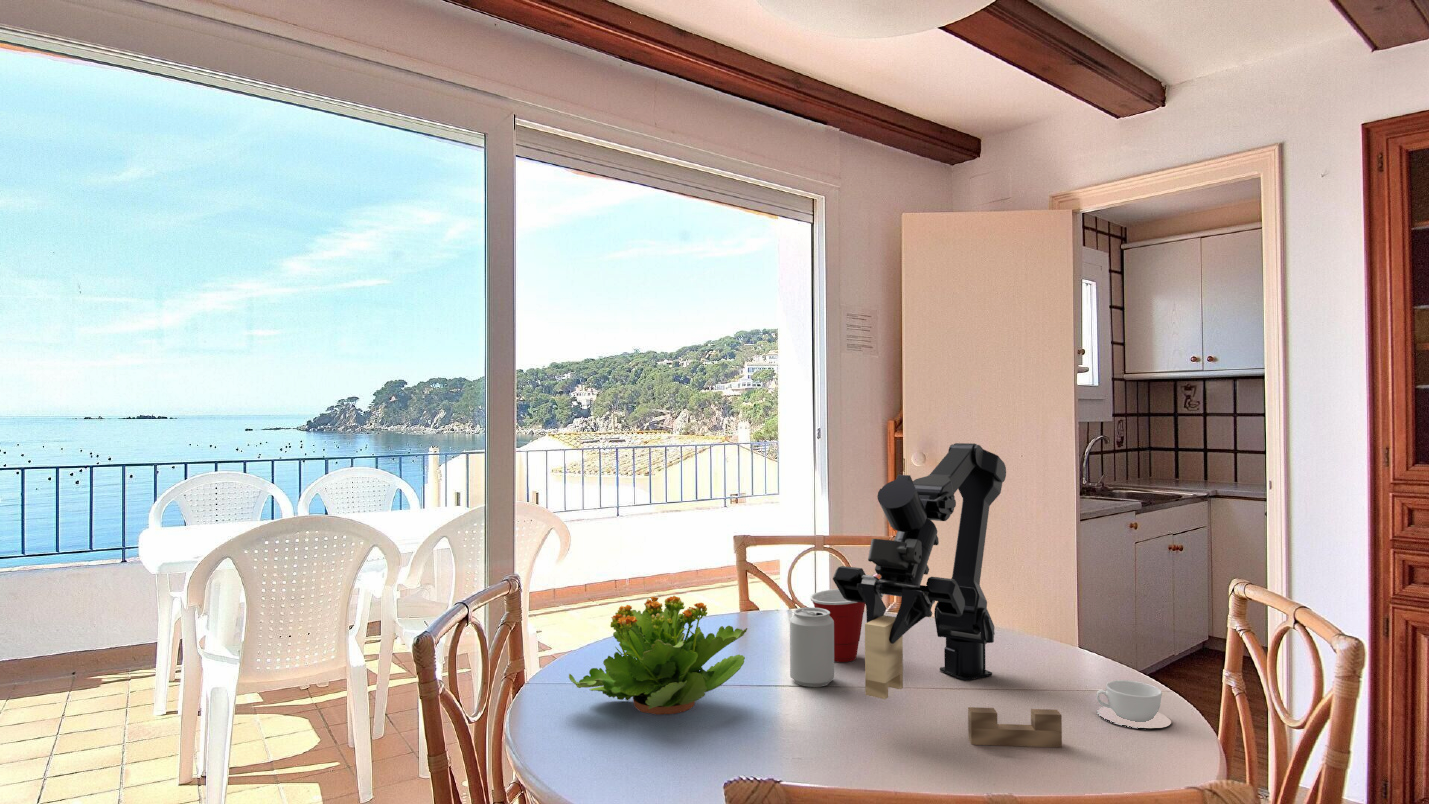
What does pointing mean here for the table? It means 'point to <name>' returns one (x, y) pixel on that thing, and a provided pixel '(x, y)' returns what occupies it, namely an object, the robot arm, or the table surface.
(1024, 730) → the lower notched wooden block
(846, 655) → the plastic cup
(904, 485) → the robot arm
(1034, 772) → the table surface
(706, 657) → the potted flower
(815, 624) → the can
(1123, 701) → the teacup
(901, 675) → the tall wooden block
